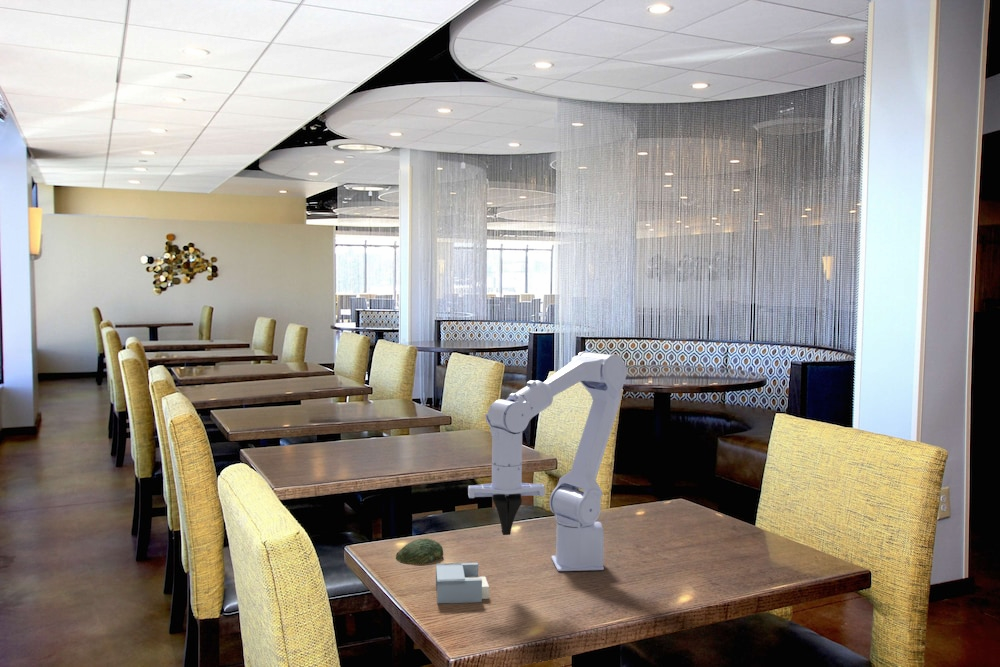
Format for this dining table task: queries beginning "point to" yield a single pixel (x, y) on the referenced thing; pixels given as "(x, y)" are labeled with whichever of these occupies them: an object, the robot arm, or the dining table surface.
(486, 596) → the cream rectangular block
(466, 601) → the bracket
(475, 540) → the dining table surface
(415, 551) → the seashell
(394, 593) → the dining table surface
